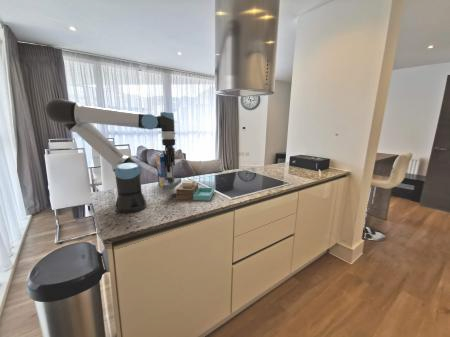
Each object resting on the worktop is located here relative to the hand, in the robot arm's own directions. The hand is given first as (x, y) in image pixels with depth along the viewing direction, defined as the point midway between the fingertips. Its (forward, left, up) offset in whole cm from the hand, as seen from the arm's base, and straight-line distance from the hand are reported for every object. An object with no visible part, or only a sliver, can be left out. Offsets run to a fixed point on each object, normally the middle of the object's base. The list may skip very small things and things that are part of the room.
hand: (170, 176), depth 130 cm
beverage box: (+20, +12, -12) cm, 27 cm away
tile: (0, -11, -6) cm, 13 cm away
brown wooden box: (0, -11, -12) cm, 16 cm away
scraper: (0, -1, -6) cm, 6 cm away
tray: (0, -21, -12) cm, 24 cm away
